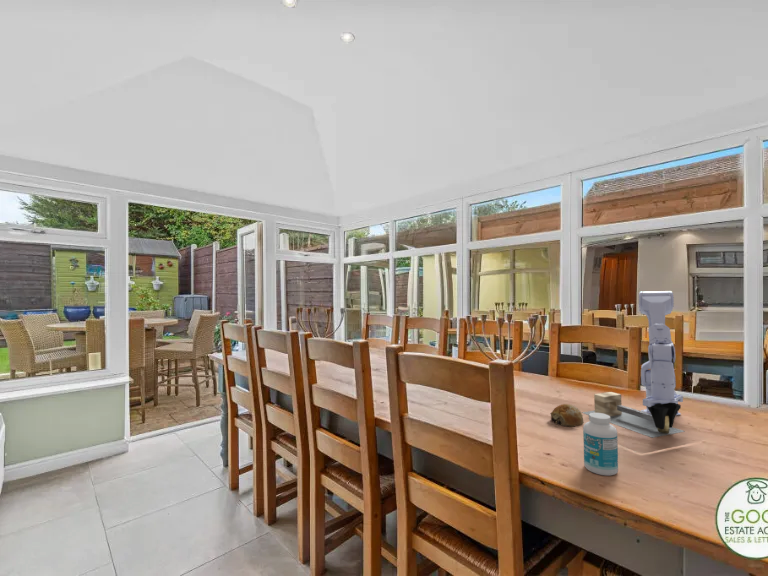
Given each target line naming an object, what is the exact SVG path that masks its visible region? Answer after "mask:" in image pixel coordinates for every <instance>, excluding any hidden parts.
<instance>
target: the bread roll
mask: <svg viewBox="0 0 768 576" xmlns="http://www.w3.org/2000/svg"><path fill="white" fill-rule="evenodd" d="M583 416H584V415H583V413H581V410H580V409H579V408H578V407H577V406H575V405H572V404H570V403H569V404H568V403H562V404H559V405H557V406H555V407H554V408H553V410H552V411H551V412H550V420H551V422H552V423H554V424H555V425H558V426H562V427H569V428H573V427H575V428H576V426H583V425H584V424H585V422H584V418H583Z"/></svg>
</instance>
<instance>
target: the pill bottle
mask: <svg viewBox="0 0 768 576" xmlns="http://www.w3.org/2000/svg"><path fill="white" fill-rule="evenodd" d="M588 419H589V421H587V422H584V423H583V425H582V426H583V427H582V431H583V432H582V433H583V438H582V439H583V466H584V467H585V469H587V471H589V472H591V473H593V474H597V475H599V476H615V475H617V474H618V472H619V448H618V443H619V442H618V440H619V439H618V430H617V428H616V427H615V425H614V424H612V423H610V422H611V419H610V416H609V415H607V414H603V413H590V414H589V415H588Z"/></svg>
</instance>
